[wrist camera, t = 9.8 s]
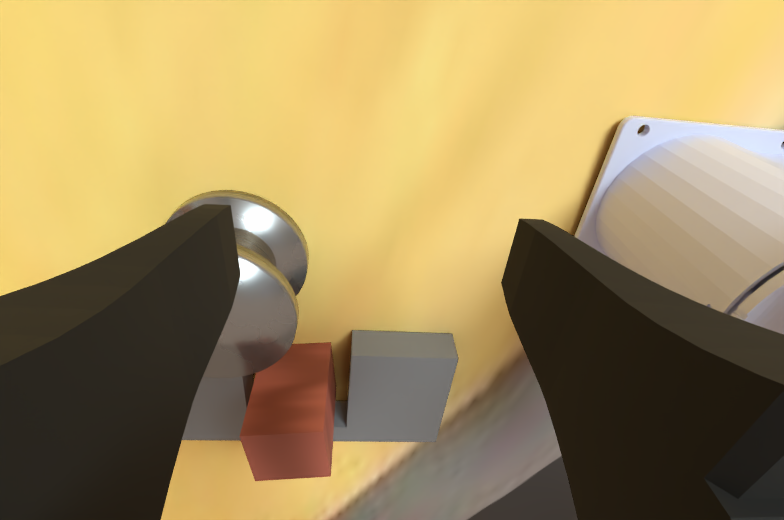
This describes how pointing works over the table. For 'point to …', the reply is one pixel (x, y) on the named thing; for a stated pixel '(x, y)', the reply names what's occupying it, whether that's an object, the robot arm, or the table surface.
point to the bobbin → (258, 284)
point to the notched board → (355, 392)
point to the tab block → (292, 415)
